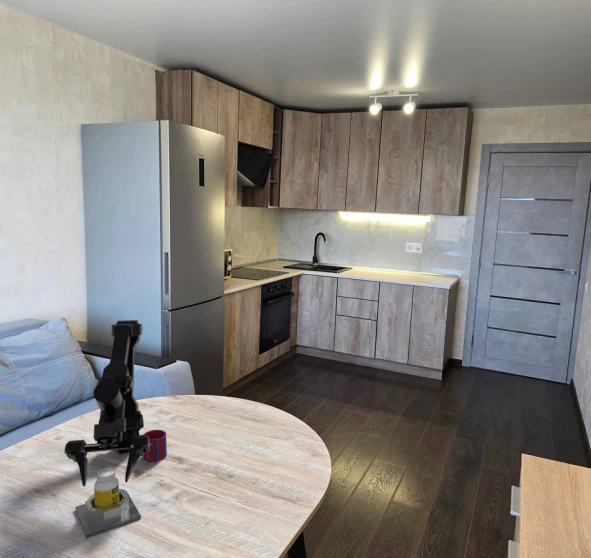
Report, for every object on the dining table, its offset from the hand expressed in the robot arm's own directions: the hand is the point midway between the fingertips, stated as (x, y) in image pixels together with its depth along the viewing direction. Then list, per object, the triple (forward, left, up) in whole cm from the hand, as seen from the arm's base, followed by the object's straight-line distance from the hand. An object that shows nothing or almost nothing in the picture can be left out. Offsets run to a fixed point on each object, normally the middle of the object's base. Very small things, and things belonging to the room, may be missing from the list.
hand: (105, 484), depth 108 cm
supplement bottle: (-1, -1, -8) cm, 8 cm away
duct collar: (-1, -1, -9) cm, 9 cm away
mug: (-18, -20, -9) cm, 28 cm away
